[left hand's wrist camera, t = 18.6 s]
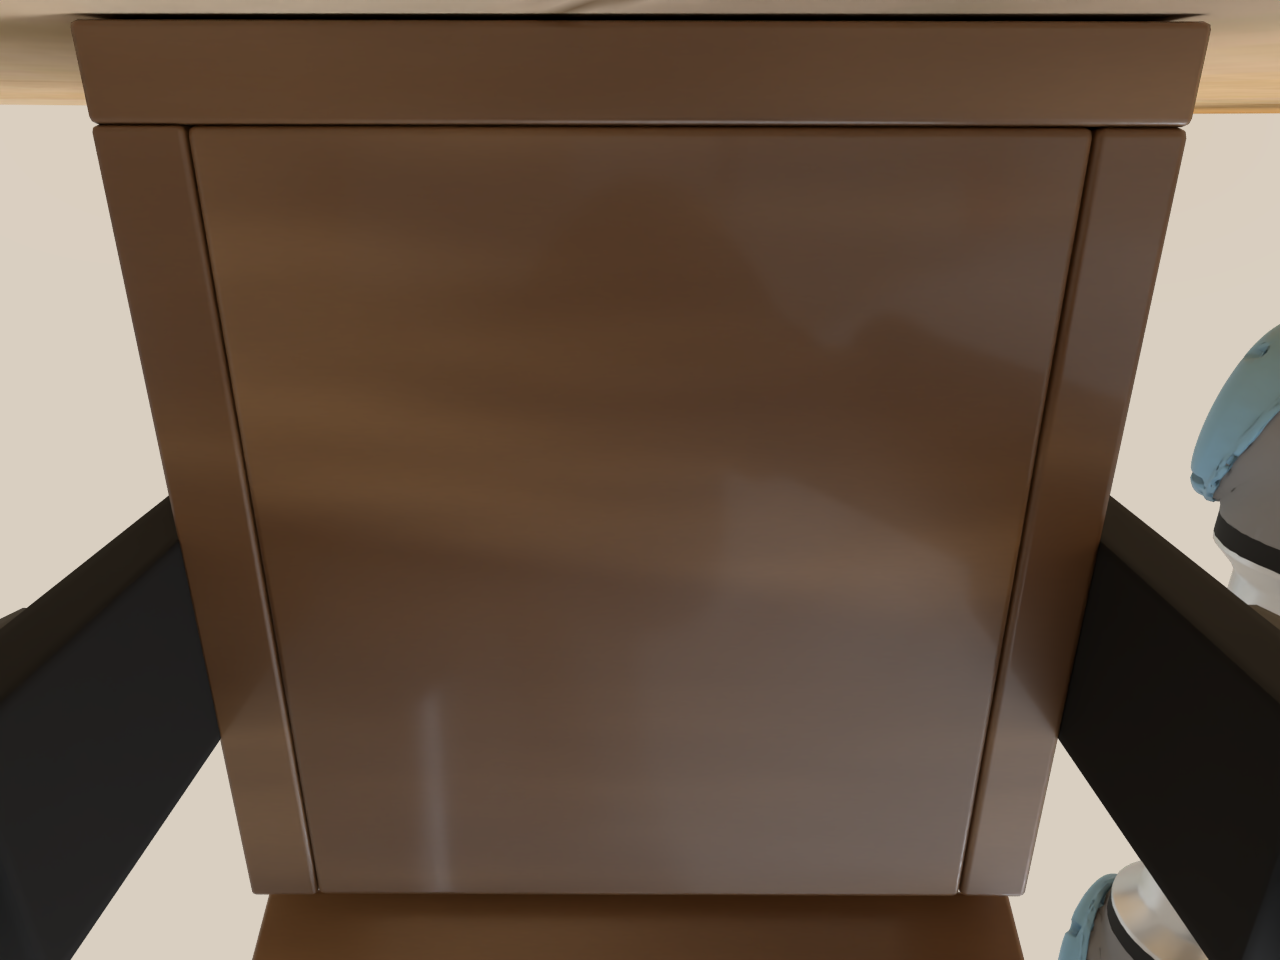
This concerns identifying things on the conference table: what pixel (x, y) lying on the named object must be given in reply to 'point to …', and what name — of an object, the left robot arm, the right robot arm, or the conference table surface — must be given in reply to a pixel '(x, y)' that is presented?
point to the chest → (639, 429)
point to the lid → (636, 927)
